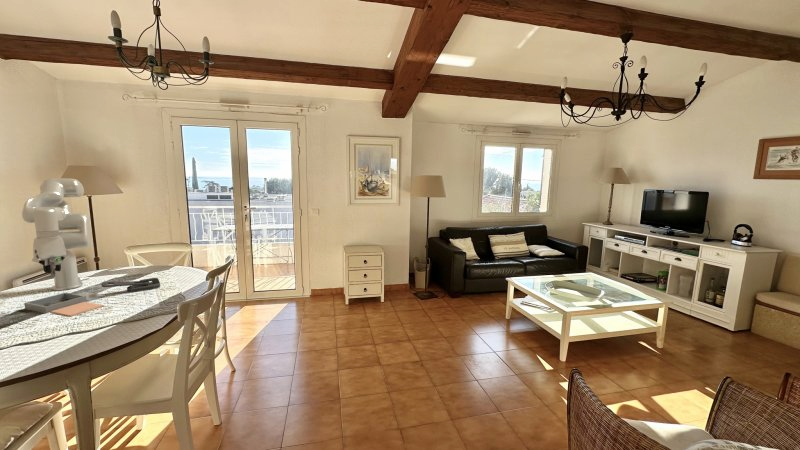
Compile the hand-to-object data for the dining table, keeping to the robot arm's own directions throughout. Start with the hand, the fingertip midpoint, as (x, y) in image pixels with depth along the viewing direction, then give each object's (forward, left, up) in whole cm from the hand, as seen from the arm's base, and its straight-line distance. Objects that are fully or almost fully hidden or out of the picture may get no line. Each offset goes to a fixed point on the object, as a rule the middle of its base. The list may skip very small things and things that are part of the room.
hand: (52, 271), depth 159 cm
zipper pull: (-27, +11, -17) cm, 34 cm away
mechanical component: (0, 0, -3) cm, 3 cm away
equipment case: (-4, 0, -17) cm, 17 cm away
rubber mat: (0, +16, -17) cm, 23 cm away
